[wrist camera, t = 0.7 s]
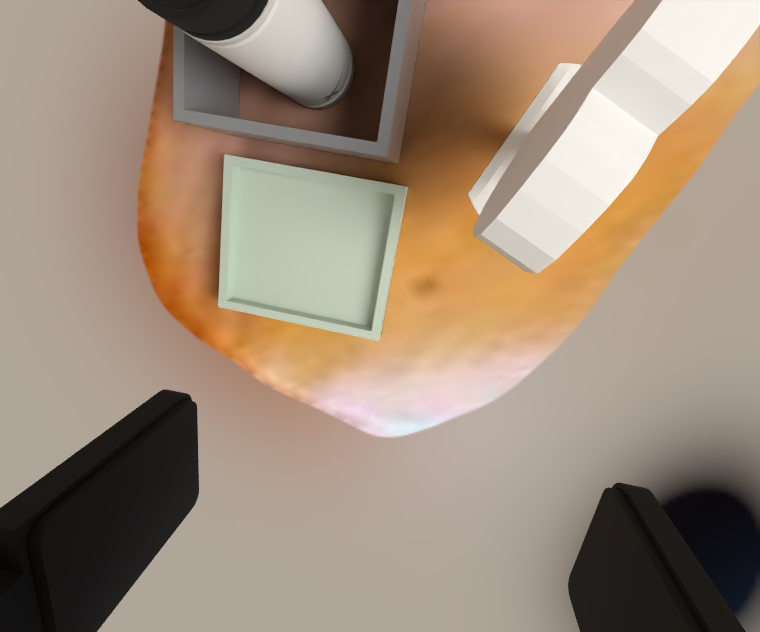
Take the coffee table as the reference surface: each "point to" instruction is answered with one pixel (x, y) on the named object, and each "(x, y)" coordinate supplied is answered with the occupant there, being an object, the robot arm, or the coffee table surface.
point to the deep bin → (221, 109)
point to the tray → (308, 245)
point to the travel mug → (272, 43)
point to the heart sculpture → (602, 123)
